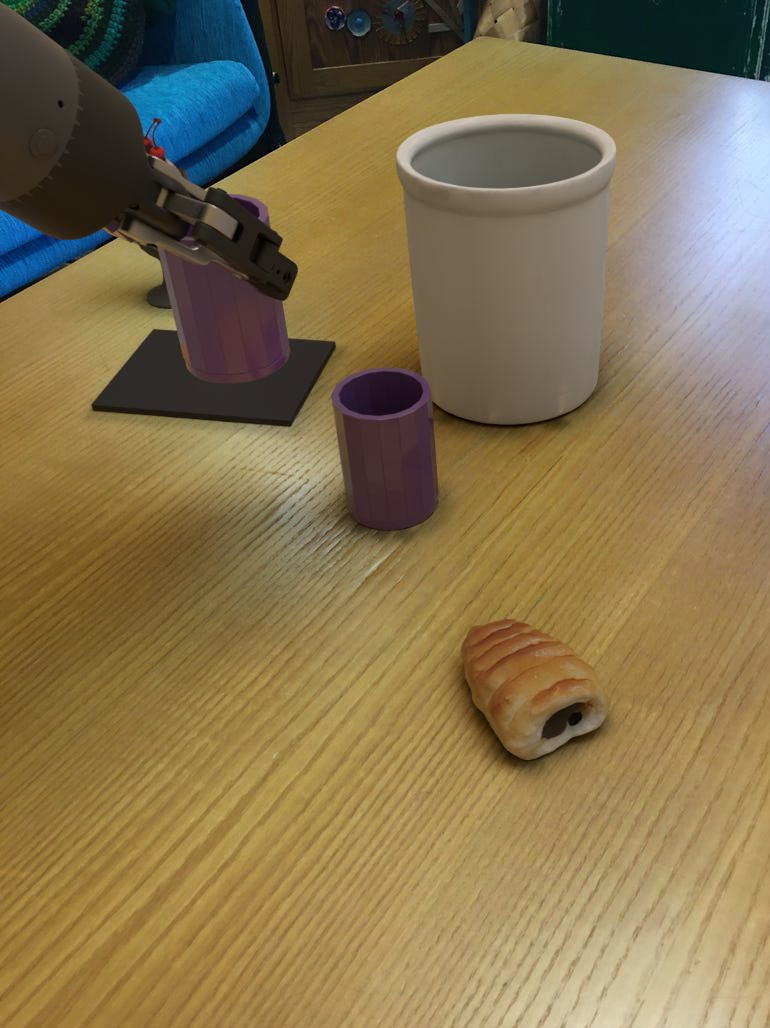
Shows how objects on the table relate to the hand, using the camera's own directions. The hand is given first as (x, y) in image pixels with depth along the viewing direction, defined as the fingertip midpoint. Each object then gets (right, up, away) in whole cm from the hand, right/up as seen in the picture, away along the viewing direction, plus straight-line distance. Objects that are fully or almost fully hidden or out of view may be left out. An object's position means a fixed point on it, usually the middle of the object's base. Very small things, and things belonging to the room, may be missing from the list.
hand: (243, 268), depth 63 cm
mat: (-7, 0, +24) cm, 25 cm away
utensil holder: (+16, -1, +23) cm, 28 cm away
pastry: (+16, -25, -2) cm, 30 cm away
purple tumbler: (+8, -12, +12) cm, 18 cm away
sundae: (-14, +9, +35) cm, 39 cm away
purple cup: (-1, -4, +2) cm, 5 cm away
